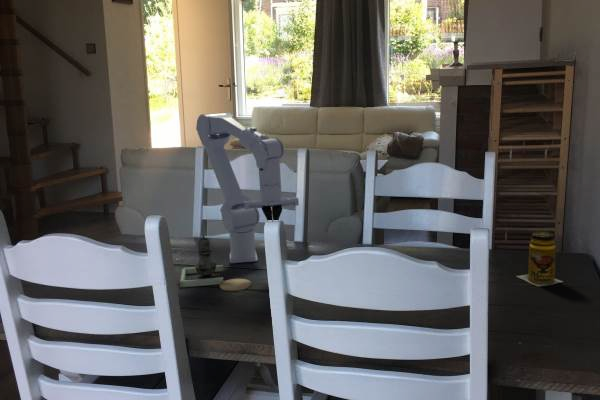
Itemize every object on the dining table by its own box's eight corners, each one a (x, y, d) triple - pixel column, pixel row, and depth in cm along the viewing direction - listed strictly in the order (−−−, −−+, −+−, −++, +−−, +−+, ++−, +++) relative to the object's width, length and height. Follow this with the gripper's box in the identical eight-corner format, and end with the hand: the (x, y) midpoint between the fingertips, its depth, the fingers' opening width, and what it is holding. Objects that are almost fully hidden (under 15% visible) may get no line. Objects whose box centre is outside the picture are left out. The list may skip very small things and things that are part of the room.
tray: (183, 273, 167) (182, 268, 167) (223, 270, 169) (222, 265, 168) (180, 287, 156) (180, 281, 156) (223, 283, 157) (223, 278, 157)
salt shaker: (213, 282, 159) (209, 238, 157) (192, 281, 160) (188, 237, 158) (220, 275, 165) (217, 232, 162) (200, 274, 166) (196, 231, 163)
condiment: (539, 287, 146) (541, 239, 143) (515, 277, 154) (517, 231, 151) (563, 282, 148) (565, 235, 146) (538, 272, 156) (540, 227, 154)
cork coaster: (219, 281, 159) (219, 280, 159) (250, 279, 160) (250, 277, 160) (219, 292, 151) (219, 290, 151) (251, 289, 152) (251, 287, 152)
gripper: (243, 188, 158) (247, 238, 160) (299, 184, 160) (301, 234, 162) (242, 184, 165) (246, 232, 167) (295, 180, 166) (298, 228, 169)
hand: (273, 233), depth 165 cm, fingers closed
